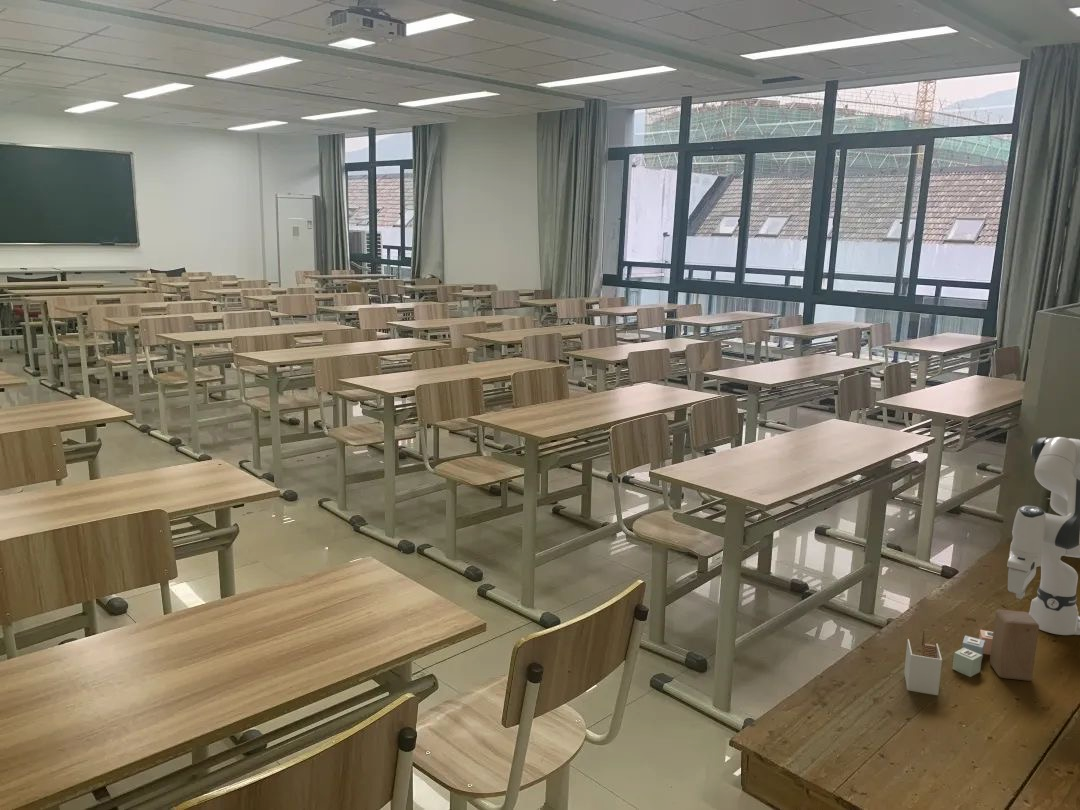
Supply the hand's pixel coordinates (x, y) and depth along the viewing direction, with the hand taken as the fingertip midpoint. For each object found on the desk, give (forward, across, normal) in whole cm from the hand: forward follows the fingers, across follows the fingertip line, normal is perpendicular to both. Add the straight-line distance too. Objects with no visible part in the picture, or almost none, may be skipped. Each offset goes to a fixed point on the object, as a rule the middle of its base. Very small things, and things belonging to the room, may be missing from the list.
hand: (1020, 597), depth 253 cm
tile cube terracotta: (+27, -11, -9) cm, 30 cm away
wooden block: (+27, 0, 0) cm, 27 cm away
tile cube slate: (+27, -2, -12) cm, 29 cm away
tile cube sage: (+27, +9, -11) cm, 30 cm away
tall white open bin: (+27, +28, -19) cm, 43 cm away
